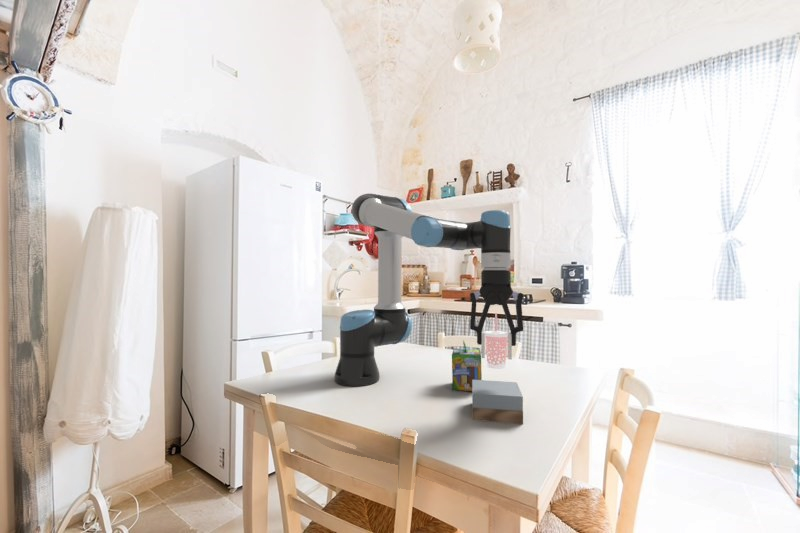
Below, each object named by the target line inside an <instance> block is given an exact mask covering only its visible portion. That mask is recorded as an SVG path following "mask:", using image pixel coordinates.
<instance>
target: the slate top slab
mask: <svg viewBox="0 0 800 533" xmlns="http://www.w3.org/2000/svg"><path fill="white" fill-rule="evenodd" d="M471 392H472V393H471V394H472V395H471V396H472V397H471V398H472V405H471V406H472V407H473V408H486V409H499V410H512V411H523V410H524V408H523V407H524V406H523V405H524V398H523V397H524V396H523V394H522V391H521V390H520V387H519V383H518V382H516V381H505V380H504V381H501V380H500V381H499V380H486V379H482V380H472V391H471ZM523 412H524V411H523Z"/></svg>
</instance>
